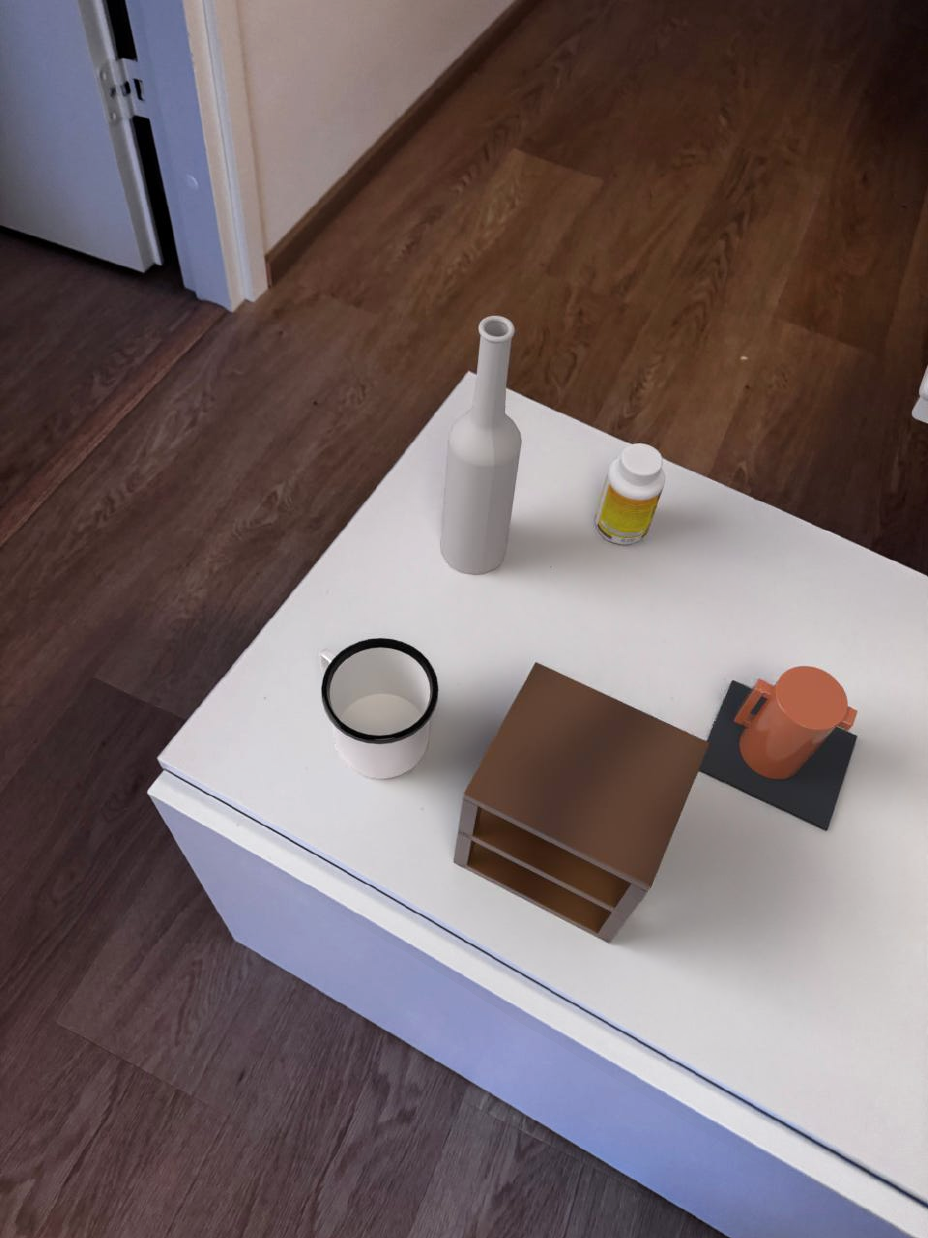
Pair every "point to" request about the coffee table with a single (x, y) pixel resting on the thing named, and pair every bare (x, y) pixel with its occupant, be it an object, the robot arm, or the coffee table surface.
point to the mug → (379, 705)
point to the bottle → (482, 463)
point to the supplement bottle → (630, 494)
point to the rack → (576, 801)
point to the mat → (797, 795)
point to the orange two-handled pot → (791, 720)
